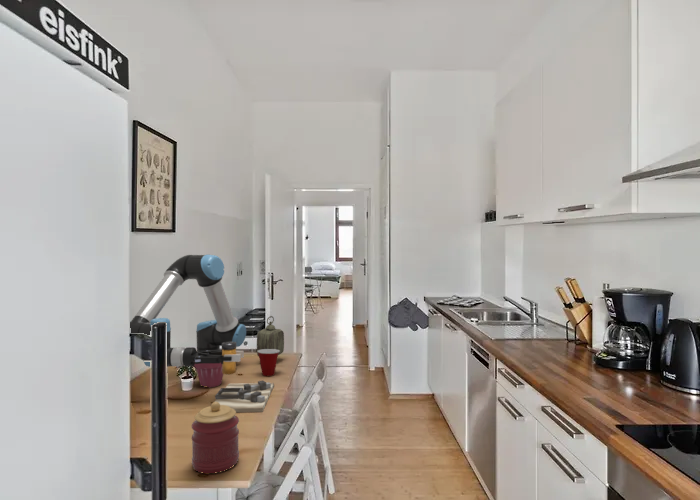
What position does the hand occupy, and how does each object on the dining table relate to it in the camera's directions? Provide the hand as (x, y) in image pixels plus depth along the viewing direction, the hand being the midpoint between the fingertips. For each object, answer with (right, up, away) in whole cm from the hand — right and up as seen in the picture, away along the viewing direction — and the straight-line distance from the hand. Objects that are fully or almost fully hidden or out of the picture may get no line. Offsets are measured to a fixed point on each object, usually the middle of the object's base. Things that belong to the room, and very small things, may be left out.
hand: (241, 356), depth 175 cm
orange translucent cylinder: (-5, -7, 0) cm, 8 cm away
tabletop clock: (+2, -18, +55) cm, 58 cm away
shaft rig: (+1, -18, 0) cm, 18 cm away
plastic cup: (+5, -18, +33) cm, 38 cm away
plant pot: (-19, -18, +18) cm, 32 cm away
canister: (+6, -18, -53) cm, 56 cm away
